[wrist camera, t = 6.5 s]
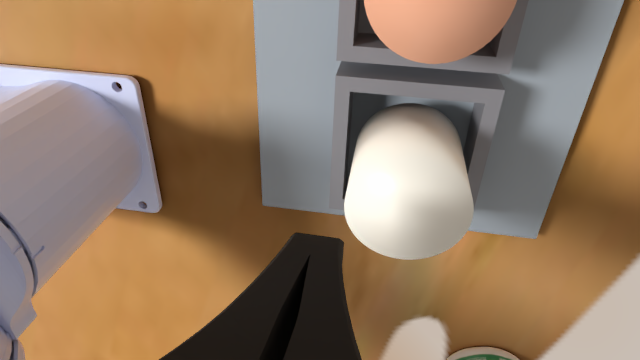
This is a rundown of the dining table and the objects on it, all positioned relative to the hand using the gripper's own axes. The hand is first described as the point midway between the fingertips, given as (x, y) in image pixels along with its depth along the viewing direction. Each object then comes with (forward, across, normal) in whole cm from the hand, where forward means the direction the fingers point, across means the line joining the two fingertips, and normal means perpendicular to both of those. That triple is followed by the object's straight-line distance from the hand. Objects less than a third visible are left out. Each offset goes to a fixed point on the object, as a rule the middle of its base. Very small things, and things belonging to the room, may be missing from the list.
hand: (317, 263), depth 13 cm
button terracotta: (+10, -2, -6) cm, 12 cm away
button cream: (+8, -2, +1) cm, 9 cm away
